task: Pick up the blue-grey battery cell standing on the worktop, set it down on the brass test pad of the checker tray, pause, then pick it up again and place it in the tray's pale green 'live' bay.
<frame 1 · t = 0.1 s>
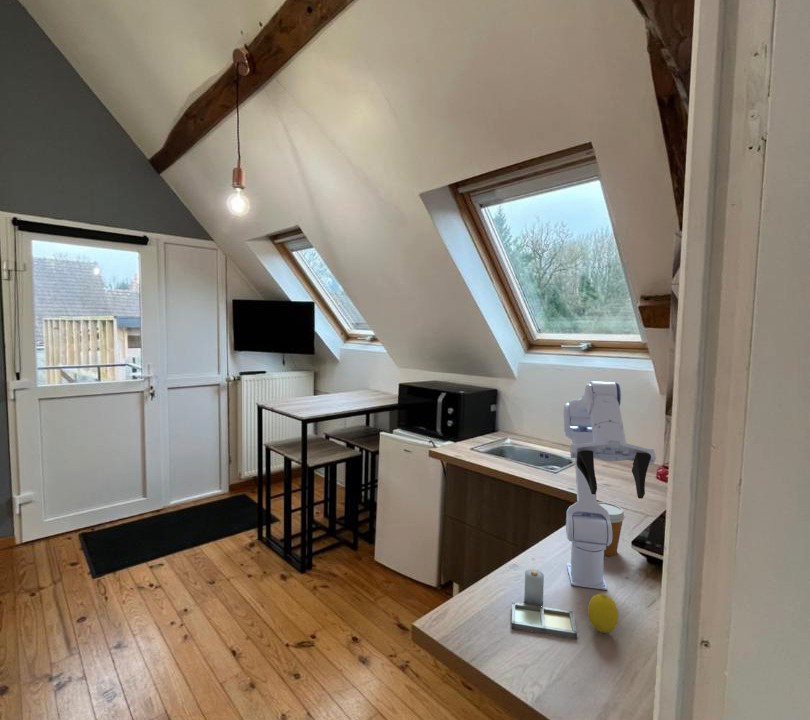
hand: (617, 493, 77), 32 cm above the kitchen counter, tool tilted 50°, fingers open, 7 cm apart
disposable coffee cup: (604, 550, 120), on the kitchen counter
checker tray: (542, 622, 90), on the kitchen counter
lemon: (602, 633, 88), on the kitchen counter
cell: (533, 602, 97), on the kitchen counter
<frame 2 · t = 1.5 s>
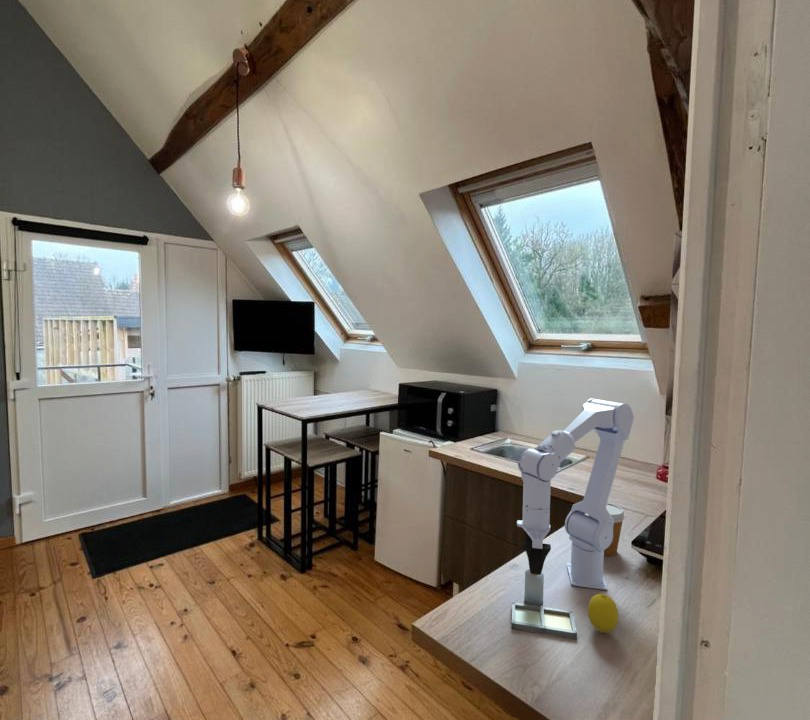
hand: (534, 564, 96), 9 cm above the kitchen counter, tool pointing down, fingers open, 7 cm apart
nothing on the kitchen counter moved.
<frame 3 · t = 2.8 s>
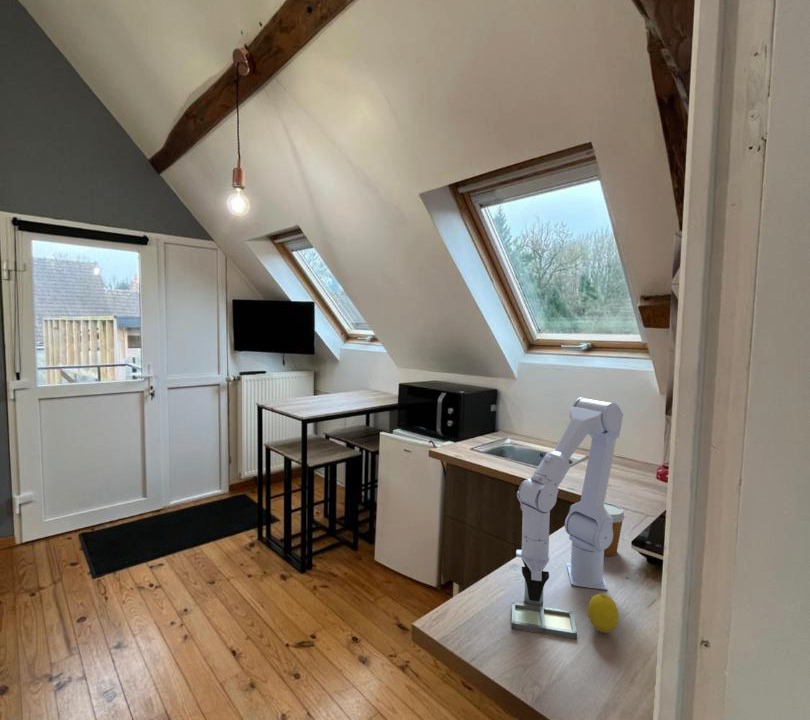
hand: (533, 593, 97), 2 cm above the kitchen counter, tool pointing down, fingers closed on cell, 4 cm apart
cell: (533, 602, 97), on the kitchen counter, touching gripper
everything else where it was.
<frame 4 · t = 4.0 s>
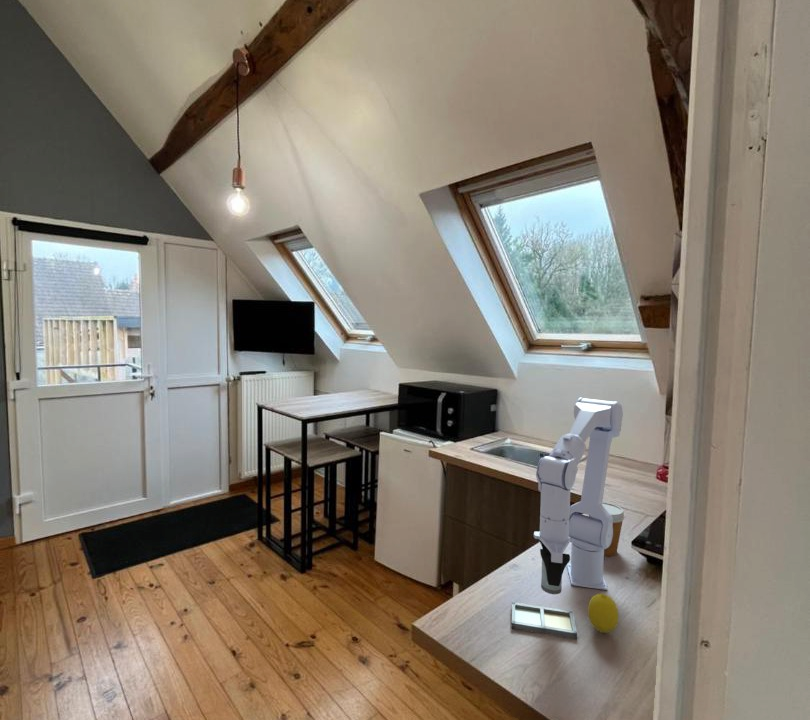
hand: (552, 578, 91), 9 cm above the kitchen counter, tool pointing down, fingers closed on cell, 4 cm apart
cell: (551, 588, 91), point 7 cm above the kitchen counter, touching gripper
everything else where it was.
when the fingers open (3 cm above the kitchen counter, at t = 5.6 s): cell stays where it is, resting on checker tray.
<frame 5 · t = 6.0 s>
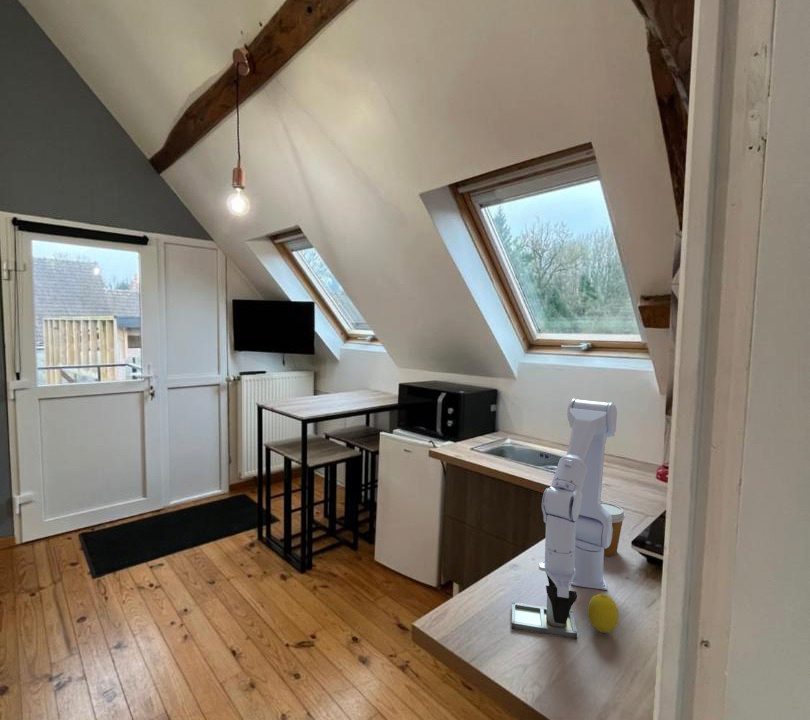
hand: (557, 610, 89), 3 cm above the kitchen counter, tool pointing down, fingers open, 7 cm apart
cell: (556, 622, 90), point 1 cm above the kitchen counter, touching checker tray
everything else where it was.
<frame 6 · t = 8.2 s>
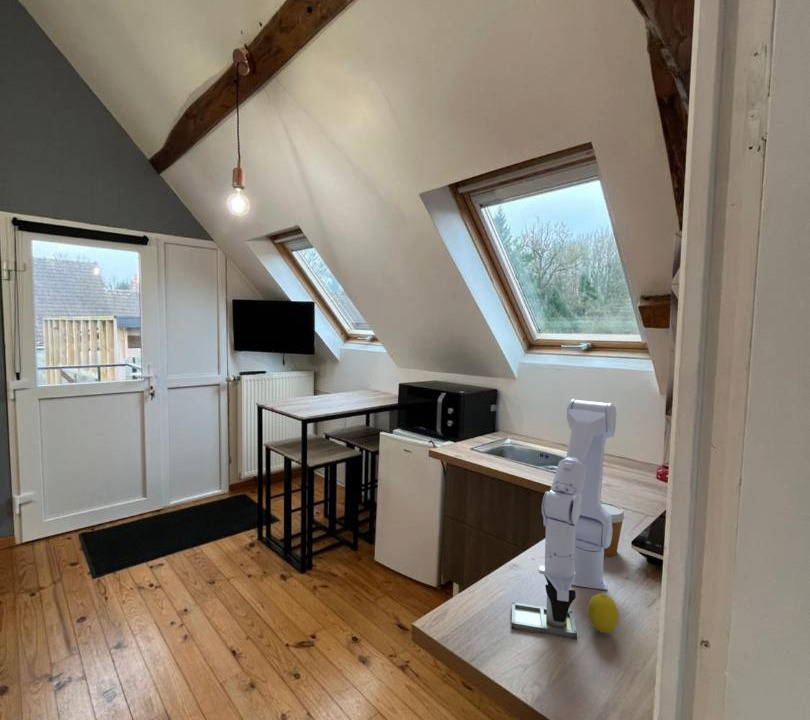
hand: (557, 613, 89), 2 cm above the kitchen counter, tool pointing down, fingers closed on cell, 4 cm apart
cell: (556, 622, 90), point 1 cm above the kitchen counter, touching checker tray, gripper
everything else where it was.
when the fingers open (3 cm above the kitchen counter, at t = 11.2 s): cell stays where it is, resting on checker tray.
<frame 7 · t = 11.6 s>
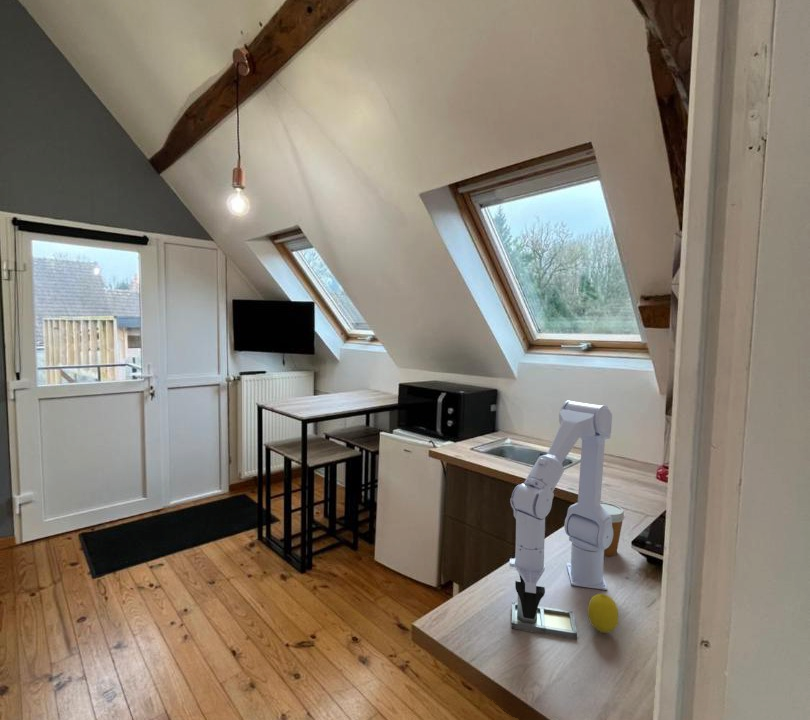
hand: (528, 605, 91), 3 cm above the kitchen counter, tool pointing down, fingers open, 7 cm apart
cell: (527, 617, 91), point 1 cm above the kitchen counter, touching checker tray
everything else where it was.
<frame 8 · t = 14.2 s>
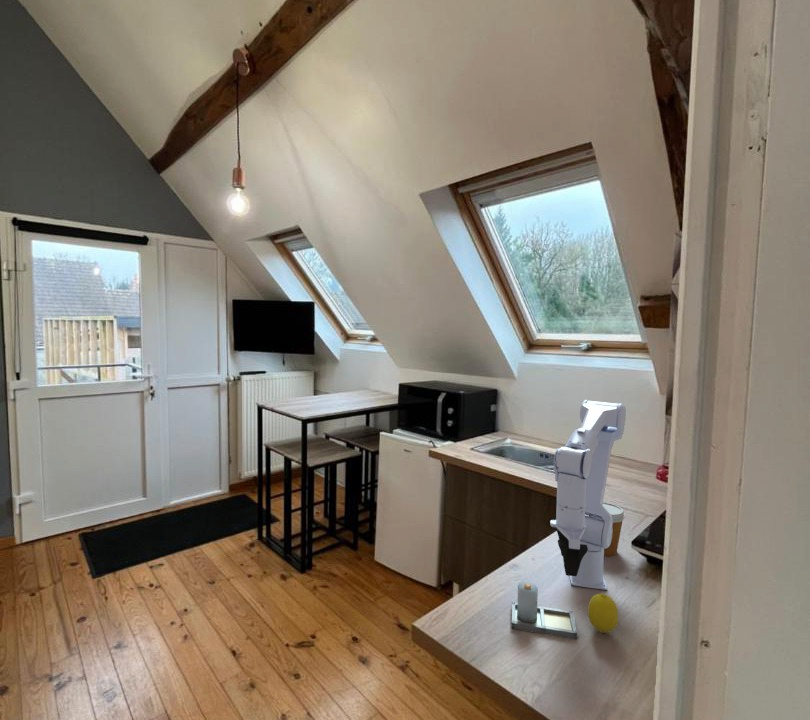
hand: (568, 565, 93), 10 cm above the kitchen counter, tool pointing down, fingers open, 7 cm apart
nothing on the kitchen counter moved.
at the end: cell 0.2 cm from the target spot on the checker tray, point 0.5 cm above the checker tray's base; cell tilted 0°; the gripper is holding nothing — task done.
